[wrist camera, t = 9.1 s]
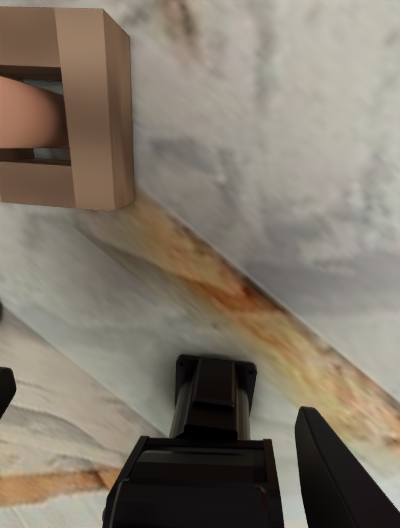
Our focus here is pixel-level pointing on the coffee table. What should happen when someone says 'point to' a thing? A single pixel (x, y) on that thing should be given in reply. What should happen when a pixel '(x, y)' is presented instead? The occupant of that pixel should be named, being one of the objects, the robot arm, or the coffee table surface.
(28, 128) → the peg
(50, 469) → the coffee table surface
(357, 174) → the coffee table surface
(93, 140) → the socket
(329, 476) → the robot arm
